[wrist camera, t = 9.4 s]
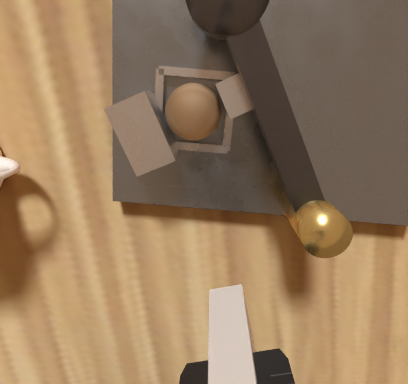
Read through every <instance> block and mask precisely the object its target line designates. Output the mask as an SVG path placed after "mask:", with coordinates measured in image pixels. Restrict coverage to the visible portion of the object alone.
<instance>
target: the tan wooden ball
mask: <svg viewBox="0 0 408 384" xmlns="http://www.w3.org/2000/svg"><path fill="white" fill-rule="evenodd" d="M165 115H166V120H167V123H168V125H169V127H170V128H171V129H172V131H173V132H174V133H175V134H177V135H178V136H180V137H181V138H184V139H187V140H200V139H203V138H205V137H207V136H209V135H210V134H211V133H212V132H213V131H214V130H215V129H216V127H217V126H218V124H219V121H220V117H221V106H220V102H219V100H218V98H217V96H216V95H215V93H214V92H213V91H212V90H211V89H210V88H208V87H206V86H205V85H202V84H199V83H187V84H184V85H181V86H180V87H178V88H176V89H175V90H174V91H173V92H172V93H171V95H170V96H169V98H168V100H167V103H166V108H165Z"/></svg>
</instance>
